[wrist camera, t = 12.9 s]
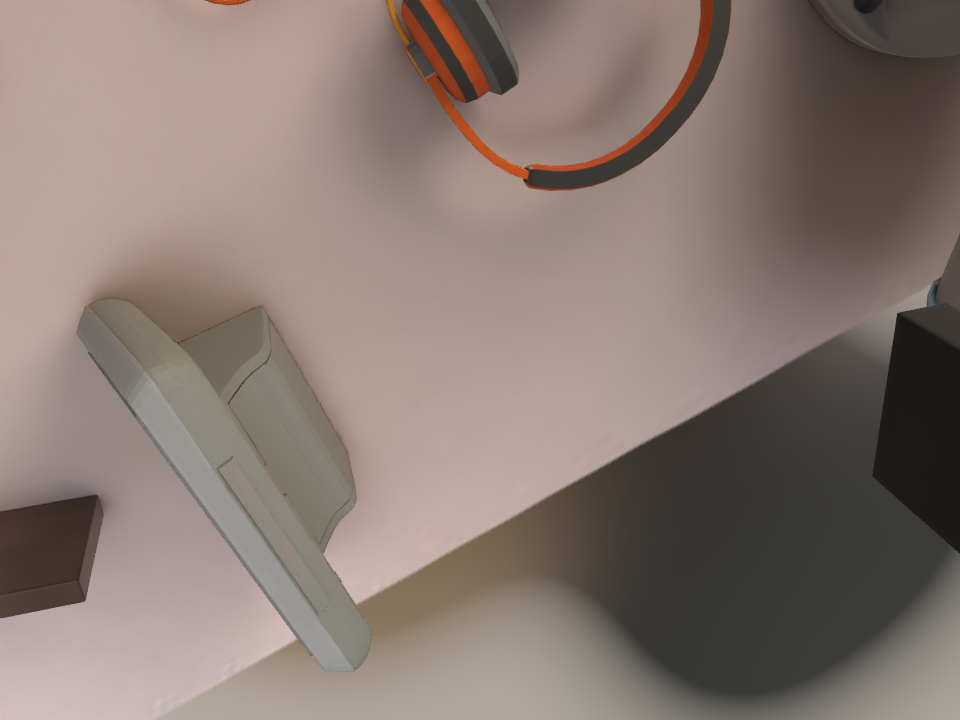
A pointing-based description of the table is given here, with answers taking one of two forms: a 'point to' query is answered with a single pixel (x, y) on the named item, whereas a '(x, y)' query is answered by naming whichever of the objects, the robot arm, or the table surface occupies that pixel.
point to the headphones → (492, 67)
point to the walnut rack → (47, 555)
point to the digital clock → (245, 457)
